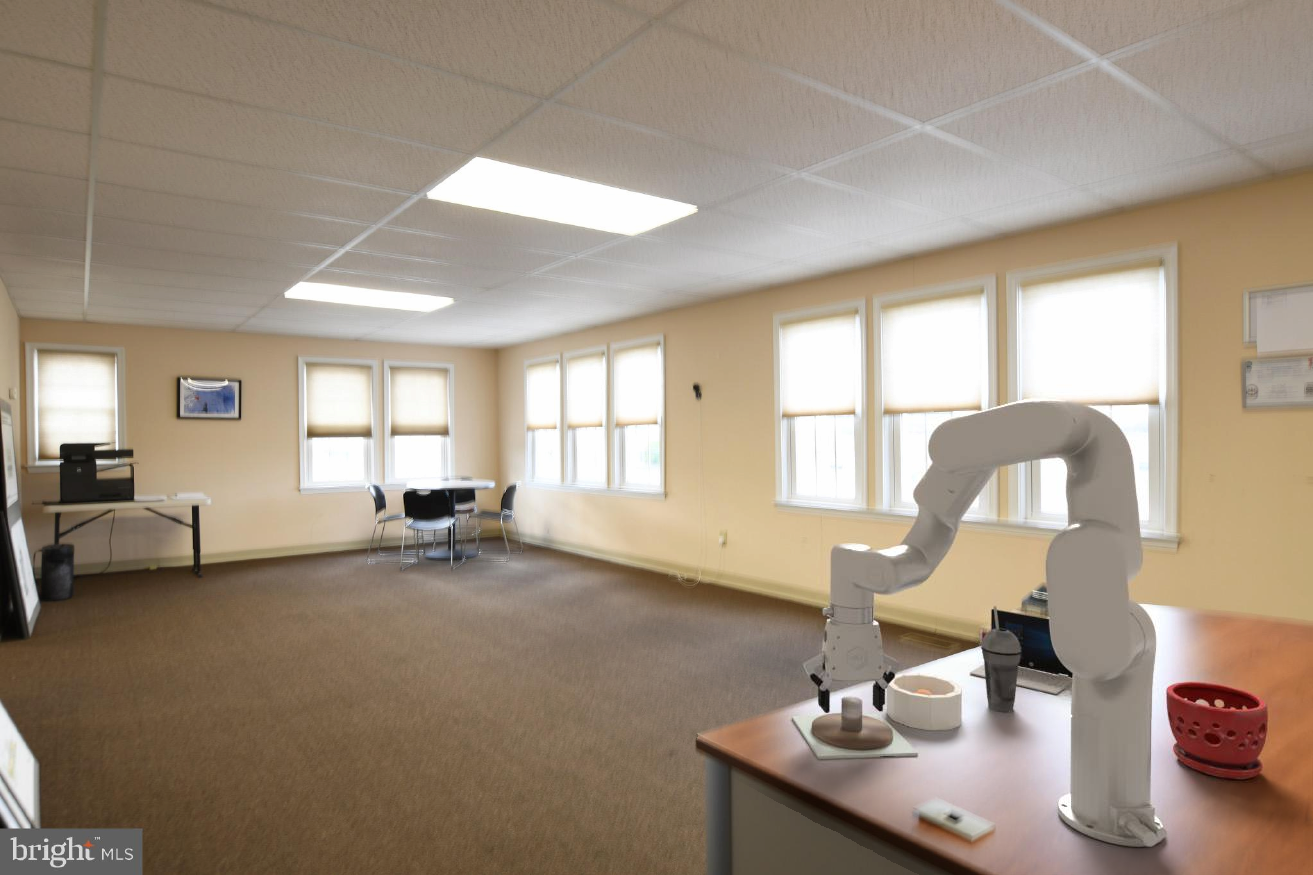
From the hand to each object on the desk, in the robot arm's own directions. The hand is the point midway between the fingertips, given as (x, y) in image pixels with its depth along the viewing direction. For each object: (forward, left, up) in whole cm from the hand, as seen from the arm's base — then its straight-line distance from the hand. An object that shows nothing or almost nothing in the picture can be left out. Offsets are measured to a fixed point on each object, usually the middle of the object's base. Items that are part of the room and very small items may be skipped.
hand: (851, 709), depth 132 cm
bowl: (+8, -17, -5) cm, 19 cm away
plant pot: (-16, -55, -5) cm, 58 cm away
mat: (0, 0, -5) cm, 5 cm away
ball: (+8, -17, -2) cm, 19 cm away
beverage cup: (+11, -34, -5) cm, 36 cm away
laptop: (+28, -48, -5) cm, 56 cm away
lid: (0, 0, -4) cm, 4 cm away
